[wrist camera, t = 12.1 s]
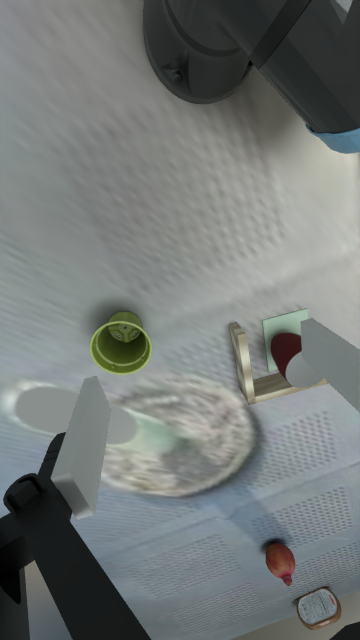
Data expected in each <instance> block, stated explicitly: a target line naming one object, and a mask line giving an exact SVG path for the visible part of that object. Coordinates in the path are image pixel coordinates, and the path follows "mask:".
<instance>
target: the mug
mask: <svg viewBox="0 0 360 640" xmlns="http://www.w3.org/2000/svg"><path fill="white" fill-rule="evenodd" d="M271 355H272V357H273V360H274V362H275V364H276V366H277V368H278V370H279V372H280V373H281V375H282V376H283V377H284V379H285V380H286V381H287V382H288V383H289V384H290V385H291V386H293V387H296V388H308V387H311V386H314V385H316V384H317V383H319V382H320V381H321V380H322V379H323V377H322V376H321V375H320V374H319V373H318V372H317V371H316V370H315V369H314V368H312V367H311V366H310V365H309V364H308V363H307V362H306V361H305V360H304V359H303V358H302V342H301V336H300V335H298V334H295V333H288V332H286V333H279V334H277V335H275V336H274V337H273V339H272V341H271Z"/></svg>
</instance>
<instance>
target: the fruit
mask: <svg viewBox="0 0 360 640" xmlns="http://www.w3.org/2000/svg"><path fill="white" fill-rule="evenodd" d="M266 564H267V566H268V569H269V570H270V571H271V573H272V574H273V575H275V576H276V577H278V578H282V579H283V581H284V583H285V584H286V585H288V586H290V585H291V583H292V579H291V575H292V574H293V572H294V570H295V559H294V556H293V554H292V552H291V551H290V550H289V548H288V547H286V546H285V545H283V544H280V543H273V544H271V545H270V546H268V549H267V551H266Z"/></svg>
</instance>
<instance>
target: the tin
mask: <svg viewBox="0 0 360 640" xmlns="http://www.w3.org/2000/svg"><path fill="white" fill-rule="evenodd" d="M297 613H298V616H299V618H300V620H301V622H302V623H303V624H304V625H305V626H306V627H307V628H308V629H310V630H317V629H320V628H322V627H325V626H327V625H330V624H332V623H335V622H337V621H338V620H339V619H340V616H341V605H340V603H339V600H338V599H337V597H336V596H335V595H334V594H333V592H331V591H330V590H329V589H327V588H319V589H317V590H314V591H312V592H310V593H307V594H305V595H302V596H301V597H300V598H299V599H298V601H297Z"/></svg>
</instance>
